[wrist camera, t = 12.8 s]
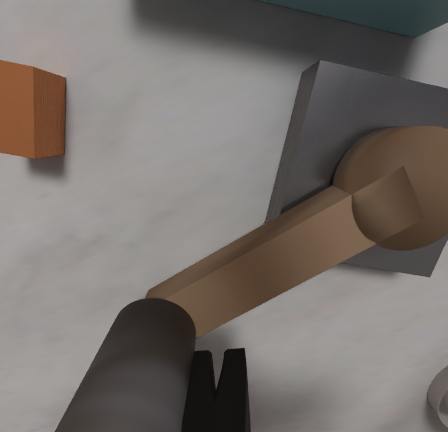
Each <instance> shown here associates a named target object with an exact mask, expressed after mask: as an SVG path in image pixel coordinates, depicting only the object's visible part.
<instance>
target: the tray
mask: <svg viewBox="0 0 448 432" xmlns="http://www.w3.org/2000/svg"><path fill="white" fill-rule="evenodd" d="M259 1H263V2H267V3H272V4H276V5H280V6H284V7H288V8H292V9H297V10H301V11H305V12H309V13H313V14H318V15H322V16H326V17H330V18H334V19H338V20H343V21H347V22H351V23H355V24H359V25H364V26H368V27H372V28H376V29H380V30H385V31H389V32H393V33H397V34H401V35H405V36H410V37H414V38H415V37H418V36H420V35H422V34H424V33H426V32H428V31H430V30H433V29H435V28H437V27H439V26H441V25H443V24H445V23H448V0H259Z"/></svg>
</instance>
